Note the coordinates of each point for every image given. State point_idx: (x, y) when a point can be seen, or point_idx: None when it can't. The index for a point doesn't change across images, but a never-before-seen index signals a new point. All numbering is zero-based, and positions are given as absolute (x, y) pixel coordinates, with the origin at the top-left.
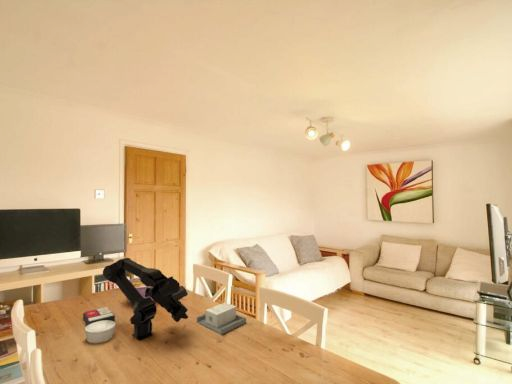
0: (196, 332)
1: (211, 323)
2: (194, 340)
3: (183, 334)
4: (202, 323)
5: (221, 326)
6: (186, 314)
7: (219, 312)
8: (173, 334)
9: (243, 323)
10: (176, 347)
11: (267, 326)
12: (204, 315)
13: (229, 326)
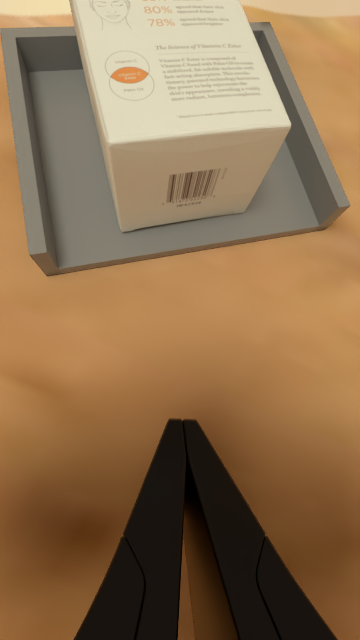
0: (204, 348)
1: (196, 211)
2: (310, 412)
3: None
4: (113, 253)
5: None
6: (226, 472)
7: (257, 81)
8: None
9: None
10: (352, 586)
11: (338, 19)
12: (38, 185)
13: (321, 148)
